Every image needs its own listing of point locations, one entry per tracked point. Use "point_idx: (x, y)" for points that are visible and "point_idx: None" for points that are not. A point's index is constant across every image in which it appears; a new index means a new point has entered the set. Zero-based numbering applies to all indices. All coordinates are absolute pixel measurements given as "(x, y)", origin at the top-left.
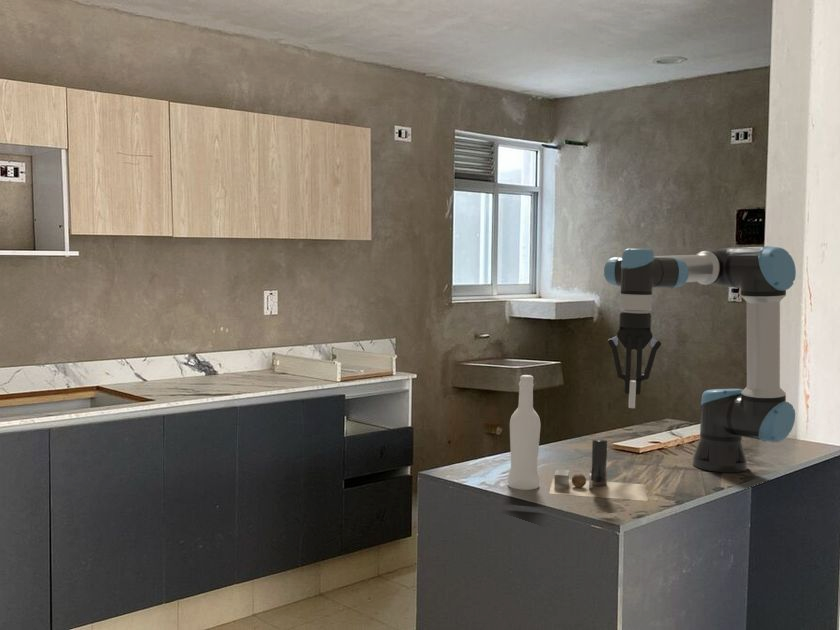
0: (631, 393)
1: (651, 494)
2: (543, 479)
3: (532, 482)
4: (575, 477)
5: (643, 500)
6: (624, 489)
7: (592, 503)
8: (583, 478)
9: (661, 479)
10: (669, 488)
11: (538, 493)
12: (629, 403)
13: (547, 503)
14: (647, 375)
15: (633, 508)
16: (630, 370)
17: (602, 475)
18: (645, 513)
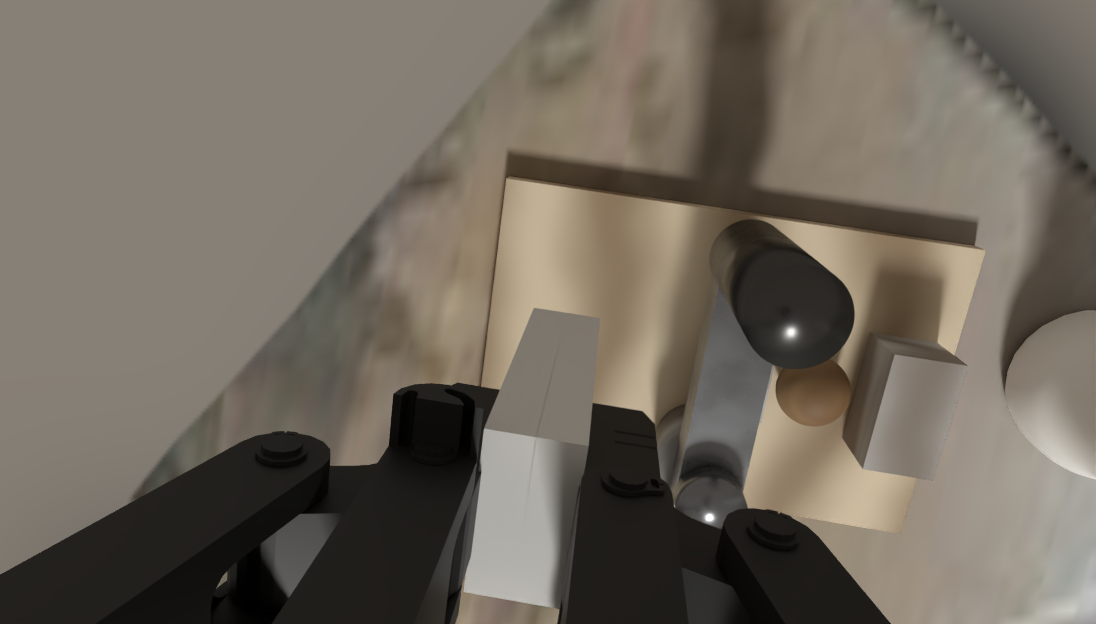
0: (567, 367)
1: (458, 368)
2: (927, 567)
3: (1079, 329)
4: (841, 378)
5: (526, 181)
6: None
7: (770, 182)
8: (798, 373)
9: None
10: None
11: (1010, 326)
12: (593, 333)
13: (1004, 152)
14: (245, 465)
15: (585, 122)
16: (572, 567)
17: (742, 227)
18: (543, 42)
